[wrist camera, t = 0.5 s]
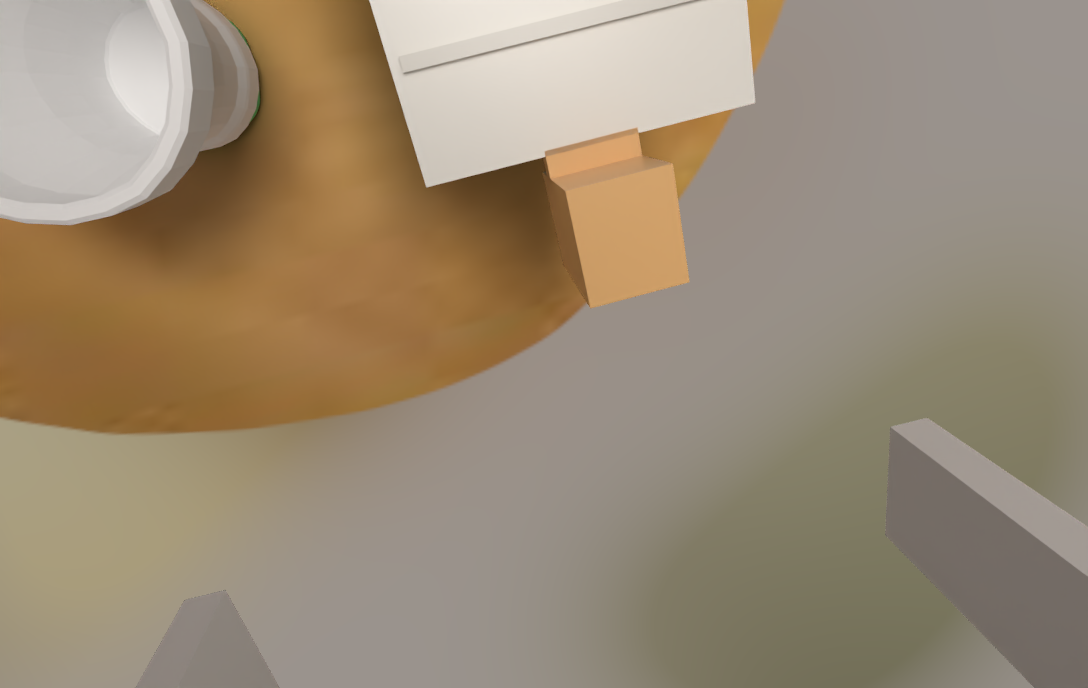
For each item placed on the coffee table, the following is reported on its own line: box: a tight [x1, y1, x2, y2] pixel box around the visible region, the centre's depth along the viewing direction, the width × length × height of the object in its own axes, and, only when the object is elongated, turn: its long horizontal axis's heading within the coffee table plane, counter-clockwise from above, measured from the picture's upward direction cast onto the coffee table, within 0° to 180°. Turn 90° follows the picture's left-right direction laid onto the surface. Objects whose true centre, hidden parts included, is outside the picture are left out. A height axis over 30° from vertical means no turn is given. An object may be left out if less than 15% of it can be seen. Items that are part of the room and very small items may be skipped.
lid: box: [369, 0, 755, 308], centre depth 19 cm, size 17×12×6 cm
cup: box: [0, 0, 260, 225], centre depth 25 cm, size 11×11×14 cm
